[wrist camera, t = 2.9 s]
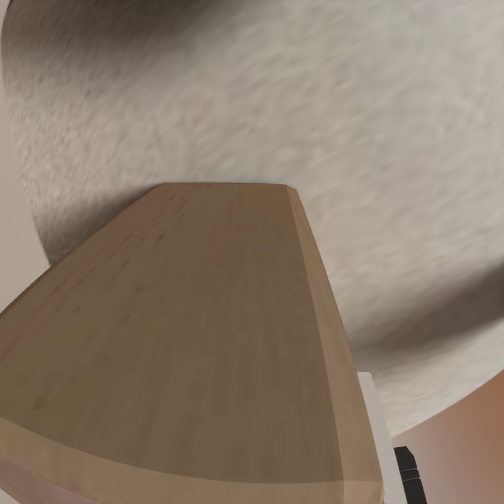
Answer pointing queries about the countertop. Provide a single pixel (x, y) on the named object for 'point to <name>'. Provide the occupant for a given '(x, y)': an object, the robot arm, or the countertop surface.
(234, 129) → the countertop surface
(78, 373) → the wooden block
